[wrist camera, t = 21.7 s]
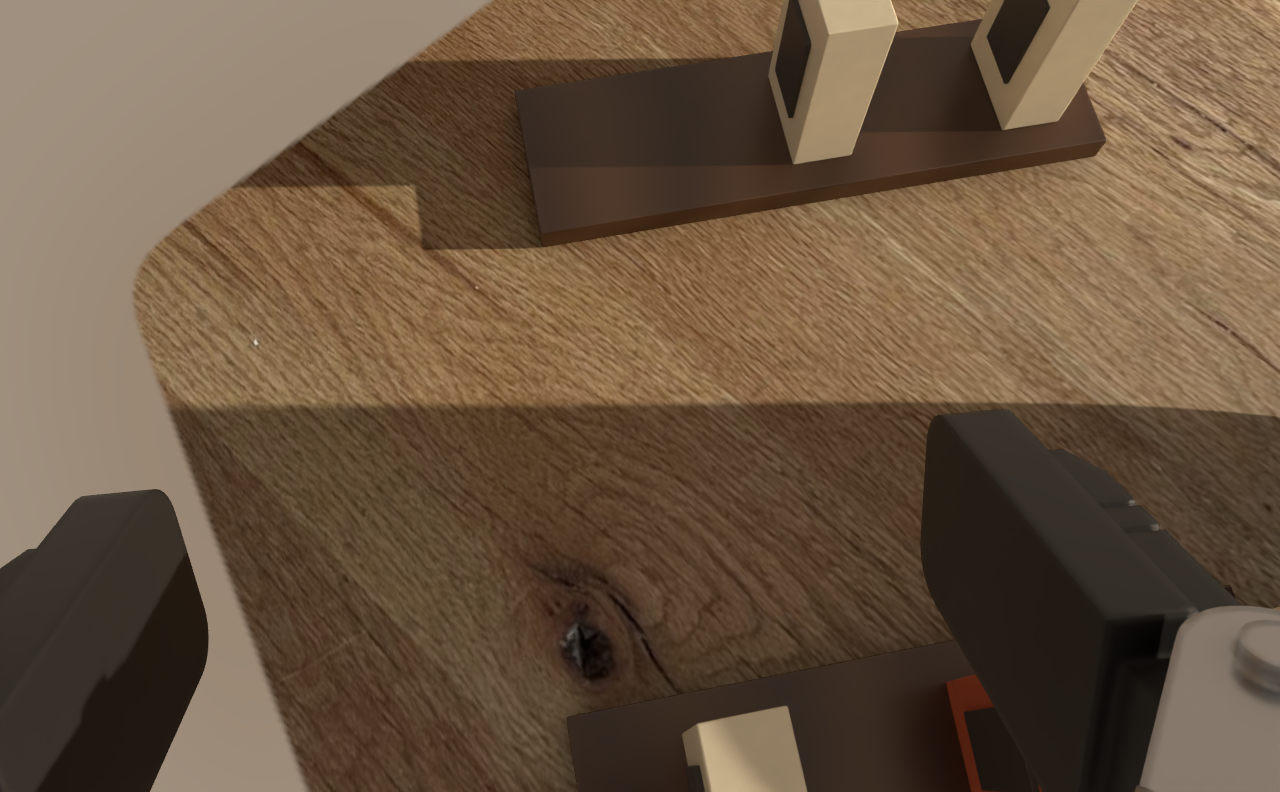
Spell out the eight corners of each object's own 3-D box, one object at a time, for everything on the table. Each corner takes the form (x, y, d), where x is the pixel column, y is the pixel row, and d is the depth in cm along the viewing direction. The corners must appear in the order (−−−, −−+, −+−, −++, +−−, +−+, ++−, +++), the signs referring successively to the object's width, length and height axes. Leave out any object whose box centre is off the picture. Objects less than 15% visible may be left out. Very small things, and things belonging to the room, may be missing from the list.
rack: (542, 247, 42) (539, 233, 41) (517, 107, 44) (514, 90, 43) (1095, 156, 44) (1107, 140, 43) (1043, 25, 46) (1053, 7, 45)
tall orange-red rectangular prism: (971, 823, 34) (1070, 839, 26) (939, 682, 35) (1023, 659, 28) (1051, 811, 34) (1172, 823, 26) (1015, 672, 35) (1120, 645, 28)
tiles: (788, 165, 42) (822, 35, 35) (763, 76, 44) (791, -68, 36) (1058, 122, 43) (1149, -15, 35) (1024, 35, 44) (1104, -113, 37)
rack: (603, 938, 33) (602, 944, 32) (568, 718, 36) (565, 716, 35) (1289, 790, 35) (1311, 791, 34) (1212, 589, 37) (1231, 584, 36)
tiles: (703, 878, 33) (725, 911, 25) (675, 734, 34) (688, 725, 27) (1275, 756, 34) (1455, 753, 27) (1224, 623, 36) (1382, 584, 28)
